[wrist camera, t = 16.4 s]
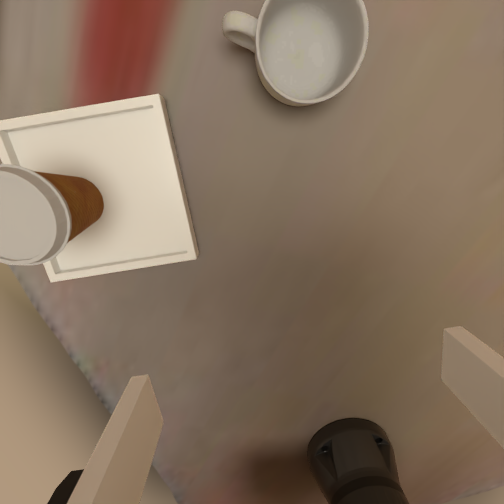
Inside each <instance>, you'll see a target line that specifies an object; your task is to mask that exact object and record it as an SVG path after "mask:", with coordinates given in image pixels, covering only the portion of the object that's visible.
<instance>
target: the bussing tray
mask: <svg viewBox="0 0 504 504" xmlns="http://www.w3.org/2000/svg"><path fill="white" fill-rule="evenodd" d="M0 158H1V161H2V163H3V164H11V165H18V166H21V167H24V168H27V169H29V170H32V171H36V172H44V173H51V174H59V175H67V176H75V177H81V178H84V179H87V180H88V181H90V182H92V183H93V184H94V185H95V186H96V187H97V188H98V190H99V191H100V193H101V195H102V198H103V202H104V209H103V213H102V215H101V217H100V218H99V219H98V220H97V221H96V222H95V223H93V224H92V225H90V226H89V227H88V228H87V229H85V230H84V231H83V232H81V233H80V234H79V235H77V236H76V237H75V238H73V239H72V240H71V241H69V242H68V243H67V244H66V246H65V248H64V249H63V250H62V251H61V252H60V253H59V254H58V255H57V256H56V257H55V258H53V259H52V260H49V261H47V262H45V263H43V265H44V267H45V269H46V272H47V274H48V277H49V279H50V282H56V281H62V280H69V279H75V278H81V277H87V276H94V275H100V274H106V273H112V272H119V271H125V270H131V269H137V268H144V267H150V266H156V265H162V264H169V263H175V262H181V261H187V260H194V259H197V257H198V255H199V250H198V246H197V241H196V237H195V232H194V228H193V223H192V219H191V215H190V210H189V206H188V201H187V197H186V192H185V188H184V183H183V179H182V174H181V170H180V166H179V161H178V157H177V152H176V148H175V143H174V139H173V134H172V130H171V125H170V121H169V117H168V112H167V108H166V103H165V99H164V98H163V97H162V96H161V95H160V94H155V95H149V96H143V97H137V98H131V99H125V100H119V101H113V102H107V103H101V104H95V105H89V106H83V107H78V108H72V109H66V110H60V111H54V112H48V113H42V114H36V115H30V116H24V117H18V118H12V119H6V120H1V121H0Z"/></svg>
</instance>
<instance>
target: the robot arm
mask: <svg viewBox="0 0 504 504" xmlns="http://www.w3.org/2000/svg"><path fill="white" fill-rule="evenodd" d="M441 380H442V381H443V382H444V384H445V385H446V386H447V387H448V388H449V389H450V390H451V391H452V392H453V393H454V394H455V396H456V397H457V398H458V399H459V400H460V401H461V402H462V403H463V404H464V405H465V407H466V408H467V409H468V410H469V411H470V412H471V413H472V414H473V415H474V416H475V418H476V419H477V420H478V421H479V422H480V423H481V424H482V425H483V426H484V427H485V428H486V430H487V431H488V432H489V433H490V434H491V435H492V436H493V437H494V438H495V439H496V441H497V442H498V443H499V444H500V445H501V446H502V447H503V448H504V358H503V357H502V356H501V355H499V354H498V353H497V352H495V351H494V350H493V349H491V348H490V347H489V346H487V345H486V344H485V343H483V342H482V341H481V340H479V339H478V338H477V337H475V336H474V335H473V334H471V333H470V332H469V331H467V330H466V329H465V328H463V327H462V326H458V327H452V328H445V329H444V333H443V352H442V370H441ZM163 423H164V421H163V418H162V415H161V412H160V409H159V406H158V403H157V400H156V397H155V394H154V390H153V387H152V384H151V381H150V378H149V375H142V376H135V377H131V379H130V381H129V383H128V385H127V387H126V388H125V390H124V392H123V394H122V396H121V398H120V400H119V402H118V404H117V406H116V408H115V410H114V412H113V414H112V416H111V418H110V420H109V422H108V424H107V426H106V428H105V430H104V432H103V434H102V436H101V438H100V440H99V442H98V444H97V445H96V447H95V449H94V451H93V453H92V455H91V457H90V459H89V461H88V463H87V465H86V467H85V469H83V470H76V471H71V472H70V473H69V474H68V476H67V477H66V478H65V479H64V480H63V481H62V482H61V484H60V485H59V486H58V487H57V488H56V490H55V491H54V493H53V495H52V497H51V498H50V500H49V502H48V504H139V503H140V500H141V496H142V493H143V490H144V486H145V483H146V480H147V476H148V473H149V469H150V466H151V463H152V460H153V456H154V453H155V449H156V446H157V443H158V439H159V436H160V433H161V429H162V426H163ZM307 456H308V461H309V465H310V470H311V472H312V475H313V477H314V479H315V480H316V482H317V484H318V486H319V487H320V489H321V491H322V493H323V494H324V496H325V498H326V500H327V501H328V503H329V504H409V503H408V501H407V499H406V497H405V495H404V493H403V490H402V488H401V486H400V483H399V478H398V472H397V467H396V462H395V456H394V451H393V448H392V445H391V443H390V441H389V439H388V437H387V436H386V434H385V432H384V431H383V430H382V429H381V428H380V427H379V426H378V425H376V424H375V423H373V422H370V421H367V420H363V419H344V420H340V421H336V422H334V423H331V424H329V425H327V426H325V427H324V428H322V429H321V430H320V431H319V432H318V433H317V434H316V435H315V436H314V437H313V438H312V440H311V442H310V444H309V446H308V451H307Z"/></svg>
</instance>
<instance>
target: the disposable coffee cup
mask: <svg viewBox="0 0 504 504" xmlns="http://www.w3.org/2000/svg"><path fill="white" fill-rule="evenodd" d="M103 209H104V202H103V198H102V195H101V193H100V191H99V190H98V188H97V187H96V186H95V185H94V184H93V183H92V182H90V181H88V180H87V179H84V178H81V177H75V176H67V175H59V174H51V173H44V172H36V171H32V170H29V169H27V168H24V167H21V166H18V165H11V164H0V262H1V263H5V264H10V265H37V264H42V263H45V262H47V261H49V260H52V259H53V258H55V257H56V256H57V255H58V254H59V253H60V252H61V251H62V250H63V249H64V248H65V246H66V244H67V243H68V242H69V241H71V240H72V239H73V238H75V237H76V236H77V235H79V234H80V233H81V232H83V231H84V230H85V229H87V228H88V227H89V226H90V225H92V224H93V223H95V222H96V221H97V220H98V219H99V218H100V217H101V215H102V213H103Z"/></svg>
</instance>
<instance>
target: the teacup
mask: <svg viewBox="0 0 504 504" xmlns="http://www.w3.org/2000/svg"><path fill="white" fill-rule="evenodd" d="M222 31H223V34H224V35H225V37H226V38H227V39H229V40H230V41H232V42H234V43H236V44H238V45H240V46H242V47H244V48H247V49H249V50H250V51H252V52H254V53H255V62H256V68H257V72H258V75H259V77H260V80H261V82H262V84H263V85H264V87H265V88H266V90H267V91H268V92H269V93H270V94H271V95H272V96H273V97H274V98H275V99H277V100H278V101H280V102H282V103H284V104H287V105H291V106H308V105H312V104H315V103H319V102H322V101H325V100H328V99H330V98H332V97H333V96H335V95H337V94H338V93H339V92H341V91H342V90H343V89H344V88H345V87H346V86H347V85H348V84H349V83H350V81H351V80H352V79H353V77H354V76H355V74H356V73H357V71H358V69H359V67H360V65H361V63H362V61H363V58H364V56H365V52H366V48H367V43H368V33H369V24H368V16H367V12H366V8H365V4H364V2H363V0H265V1H264V3H263V6H262V8H261V11H260V14H259V17H258V19H256V18H255V17H253V16H251V15H249V14H247V13H244V12H240V11H230V12H228V13H226V14H225V15H224V18H223V21H222Z"/></svg>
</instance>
